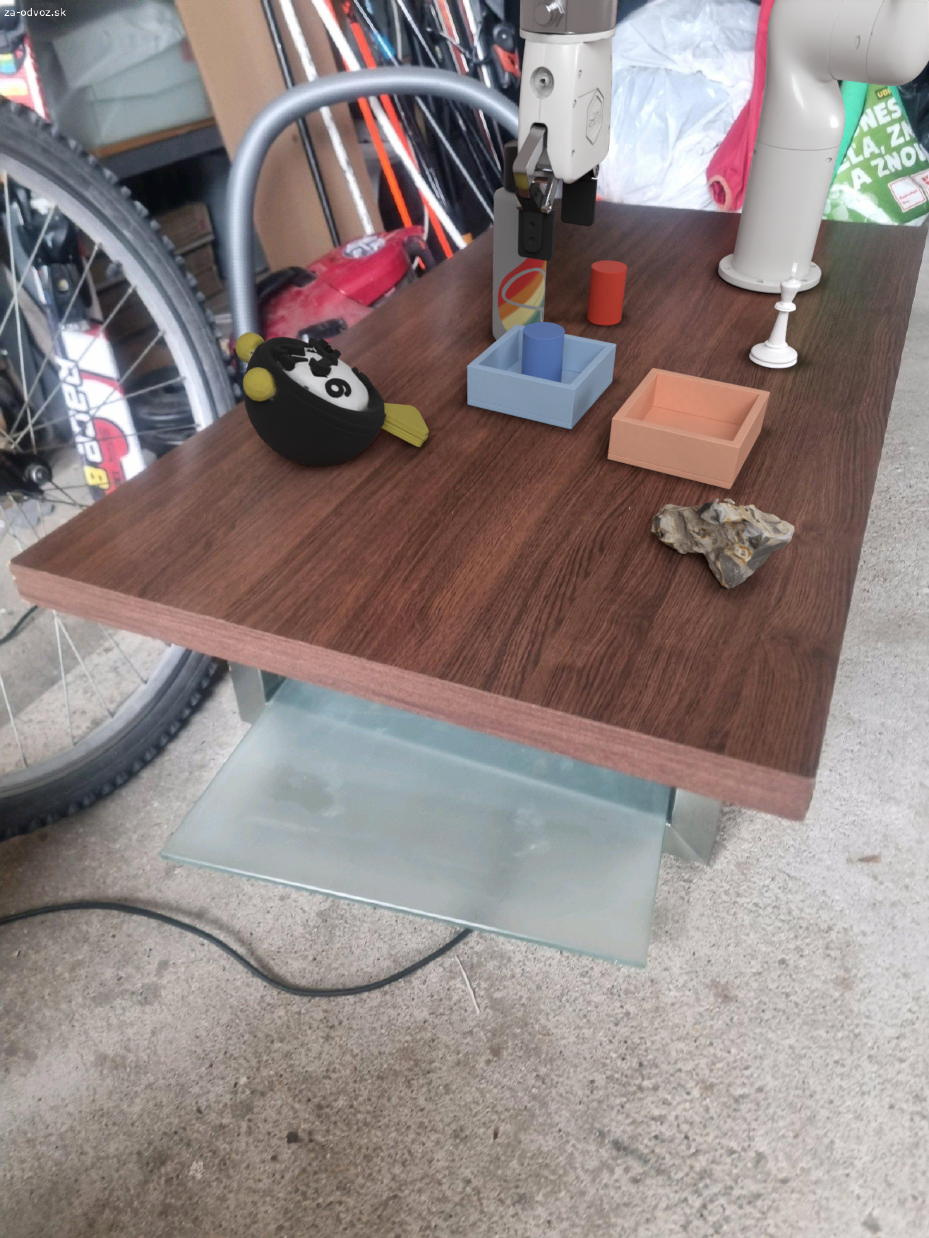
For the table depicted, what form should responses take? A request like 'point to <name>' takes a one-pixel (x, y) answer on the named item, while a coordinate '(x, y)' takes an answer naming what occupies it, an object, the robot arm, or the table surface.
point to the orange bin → (688, 427)
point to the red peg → (606, 292)
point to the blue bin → (540, 380)
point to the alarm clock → (316, 402)
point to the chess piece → (779, 330)
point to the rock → (723, 536)
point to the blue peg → (543, 350)
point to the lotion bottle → (513, 261)
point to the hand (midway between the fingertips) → (557, 240)
